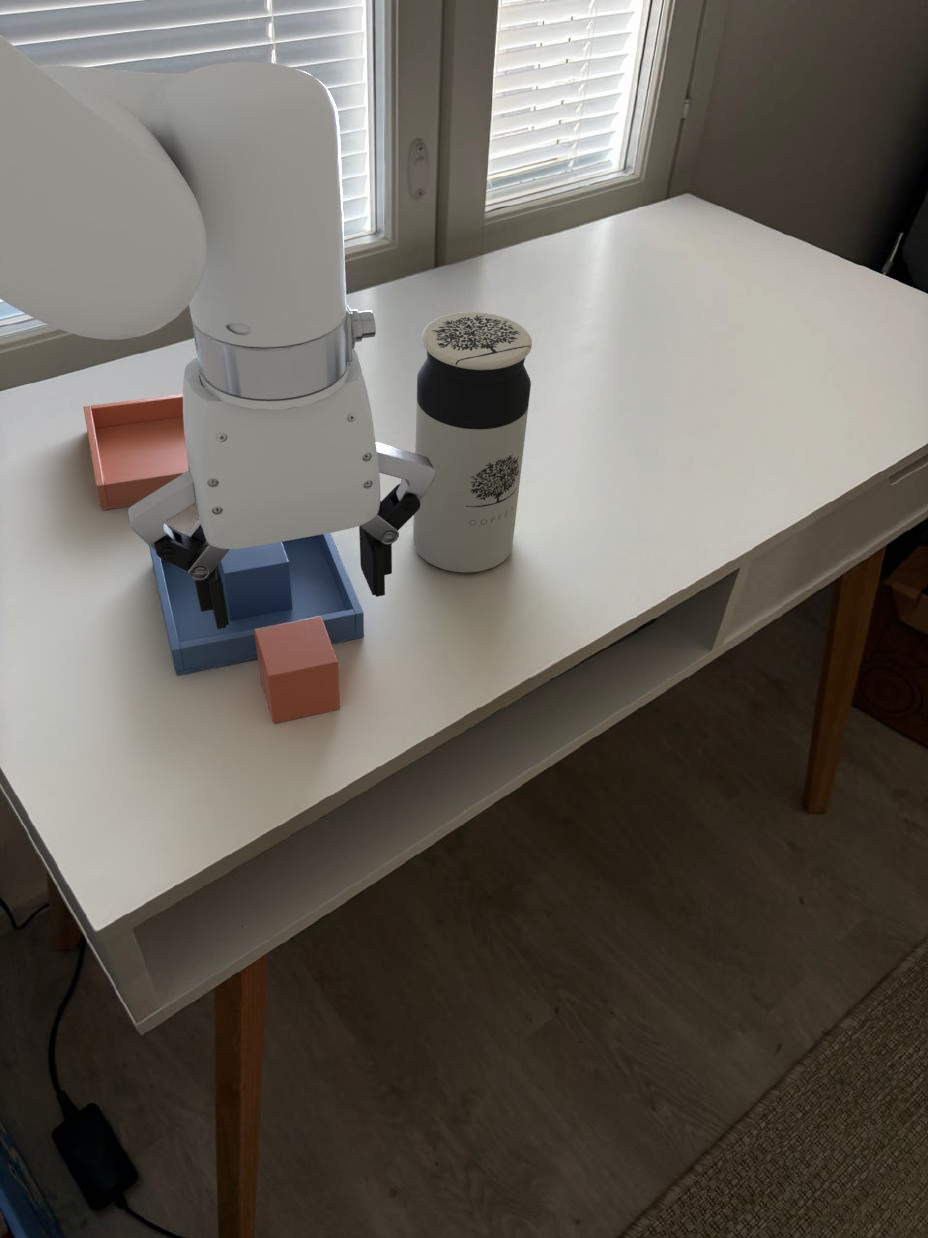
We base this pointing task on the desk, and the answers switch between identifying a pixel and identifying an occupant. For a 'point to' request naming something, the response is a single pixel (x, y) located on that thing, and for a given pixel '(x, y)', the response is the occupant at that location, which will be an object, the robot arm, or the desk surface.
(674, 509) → the desk surface
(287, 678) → the terracotta block
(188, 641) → the blue tray
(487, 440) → the travel mug
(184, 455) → the terracotta tray
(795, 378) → the desk surface
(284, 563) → the blue block
